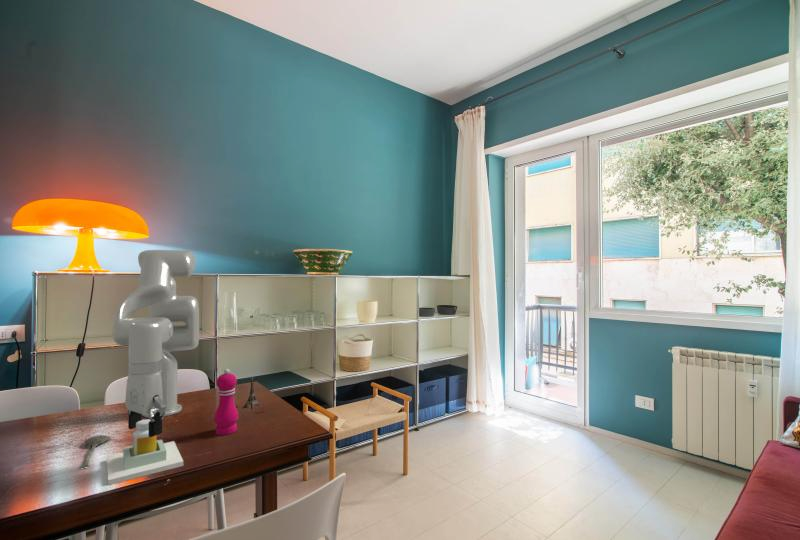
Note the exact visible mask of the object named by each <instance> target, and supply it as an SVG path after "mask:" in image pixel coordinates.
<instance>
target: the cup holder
mask: <svg viewBox="0 0 800 540" xmlns="http://www.w3.org/2000/svg"><path fill="white" fill-rule="evenodd" d="M180 467H184V458H183V457H182V455H181V453H180V451H179V448H178V447H177V444H176V442H175V440H172V441H168V442H164V441H163V439H156V451H155V452H150V453H146V454H142V455H137V456H133V445H130V446H125V447H123V449H122V452H120V453H115V454H110V455H107V456H106V472H107V474H108V475H107V485H108V486H110V485H109V484H111V485H114V483H115V484H119V483H121V482H125V481H129V480H133V479H137V478H141V477H145V476H149V475H153V474H157V473H160V472H161V473H162V472H164V471H168V470H172V469H176V468H180ZM118 482H119V483H118Z"/></svg>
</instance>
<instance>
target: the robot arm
mask: <svg viewBox="0 0 800 540" xmlns="http://www.w3.org/2000/svg"><path fill="white" fill-rule="evenodd" d="M137 260H138V265H139V267H140V273H139V280H138V288H137V289H136V290H134V291H132V292H131V293H130V294H128V295H127V296H126V297H125V298H124V299H123V300H122V301H121V302H120V304H119V305H118V307H117V309H116V311H115V314H114V315H115V316H114V321H113V324H112V325H113V326H112V339H113V341H114V343H115V344H117V345H119V346H128V375H127V380H126V387H125V388H126V390H125V408H126V409H127V415H128V423H127V424H128V425H127V426H128V429H129V430H133V429H136V423H137V422H138V421H141V420H143V417H144V418H148V419H150V422H149V434H148V436H149V437H153V436H156V435H157V436H158V435H161V434H162V433H163V419H164V417H169V416H172V415H175V414H177V413H179V412H181V411H182V409H183V406H182V405H181V404H179V403H178V362H177V359H176V358H175V357H174V355H172V354H171V353H172V352H178V351H179V352H180V351H190V350H194V349H196V348H198V346H199V343H200V342H199V341H200V309H199V308H200V306H199V301H198V299H197V298H196V297H195V296H192V295H177V282H176V280H175V279H174V278H191V276H192V275H193V274H194V270H195V268H196V256H195V255H194V252H192V251H191V250H173V249H172V250H170V249H149V250H148V249H147V250H143V251H141V252H139V254H138V257H137ZM146 307H149V309H148V311H149V312H148V313H149V317H131V316H132V314H134V313H135V312H137V311H139V310H141V309H144V308H146ZM175 322H176V323H179V322H183V323H185V324H173V323H175ZM157 436H156V437H157Z"/></svg>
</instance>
